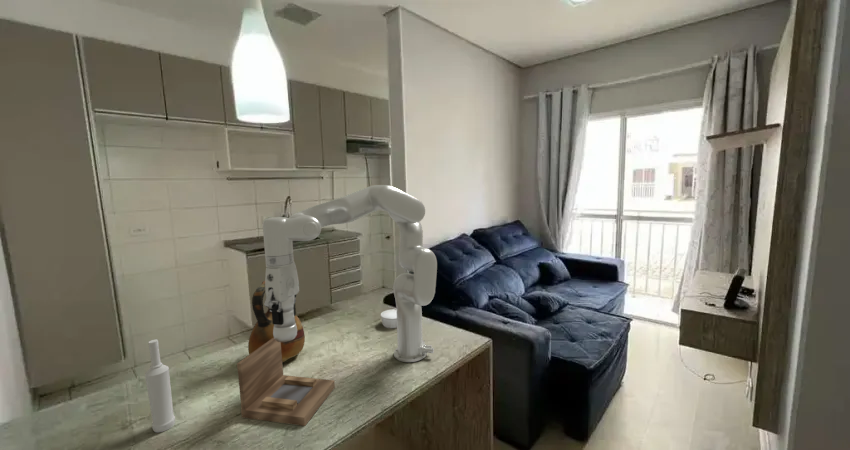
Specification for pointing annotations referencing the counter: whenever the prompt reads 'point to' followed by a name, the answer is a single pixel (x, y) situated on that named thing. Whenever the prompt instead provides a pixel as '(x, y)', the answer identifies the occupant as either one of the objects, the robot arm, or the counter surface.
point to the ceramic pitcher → (265, 329)
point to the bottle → (159, 391)
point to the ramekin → (389, 318)
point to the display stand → (278, 389)
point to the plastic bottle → (286, 320)
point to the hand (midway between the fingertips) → (284, 319)
